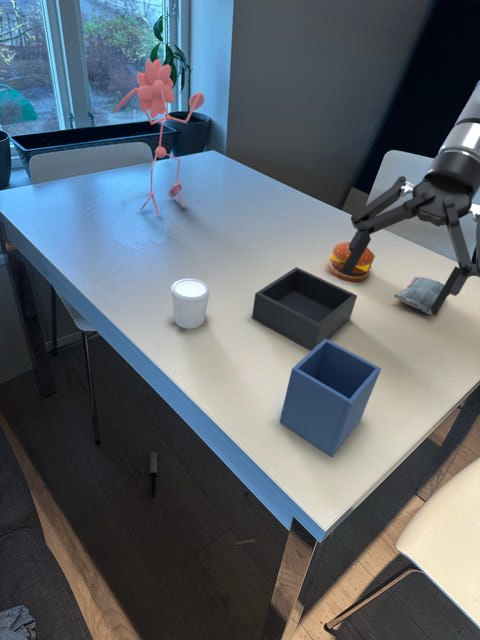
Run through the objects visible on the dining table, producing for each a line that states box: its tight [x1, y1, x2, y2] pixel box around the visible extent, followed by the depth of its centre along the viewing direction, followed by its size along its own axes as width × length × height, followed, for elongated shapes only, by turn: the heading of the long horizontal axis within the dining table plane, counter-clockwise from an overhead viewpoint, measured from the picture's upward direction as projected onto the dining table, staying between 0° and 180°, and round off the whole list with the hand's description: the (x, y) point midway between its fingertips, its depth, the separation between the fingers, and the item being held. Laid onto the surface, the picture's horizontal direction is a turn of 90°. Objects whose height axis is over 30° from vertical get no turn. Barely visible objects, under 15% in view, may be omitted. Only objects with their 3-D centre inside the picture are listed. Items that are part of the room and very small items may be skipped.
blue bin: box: [279, 339, 382, 458], centre depth 64 cm, size 9×9×11 cm
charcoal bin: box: [251, 266, 358, 352], centre depth 86 cm, size 14×14×6 cm
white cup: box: [170, 278, 211, 330], centre depth 82 cm, size 7×7×7 cm
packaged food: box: [393, 276, 451, 316], centre depth 95 cm, size 9×12×5 cm
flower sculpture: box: [111, 58, 205, 217], centre depth 113 cm, size 15×26×35 cm, turn 142°
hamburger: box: [328, 241, 377, 282], centre depth 102 cm, size 9×10×7 cm
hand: (387, 291), depth 64 cm, fingers open, 13 cm apart
